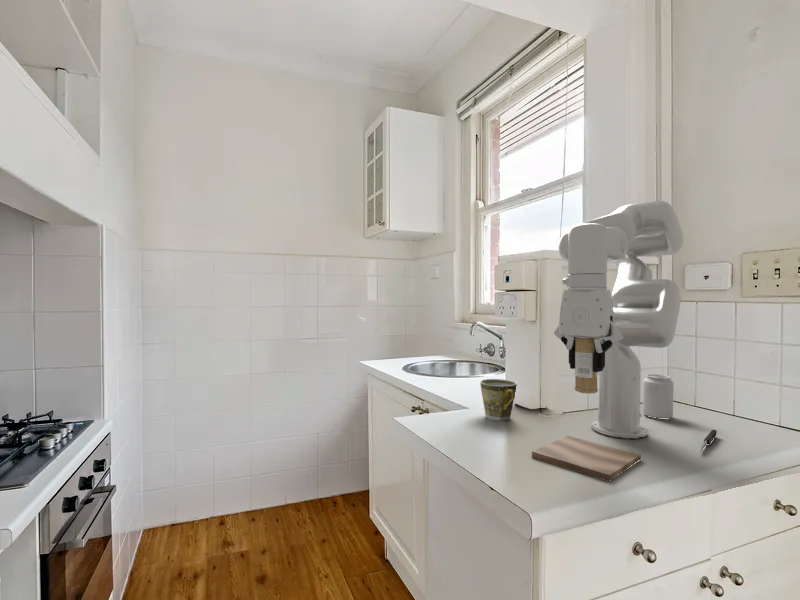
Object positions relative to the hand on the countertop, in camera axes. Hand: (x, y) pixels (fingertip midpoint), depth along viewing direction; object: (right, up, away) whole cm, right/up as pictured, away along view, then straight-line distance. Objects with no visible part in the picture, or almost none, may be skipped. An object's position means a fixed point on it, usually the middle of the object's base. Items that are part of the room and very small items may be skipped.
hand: (586, 368), depth 90 cm
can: (+35, -19, +33) cm, 52 cm away
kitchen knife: (+32, -20, +9) cm, 39 cm away
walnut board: (0, -19, 0) cm, 19 cm away
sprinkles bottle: (0, -5, 0) cm, 5 cm away
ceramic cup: (-11, -19, +29) cm, 36 cm away
